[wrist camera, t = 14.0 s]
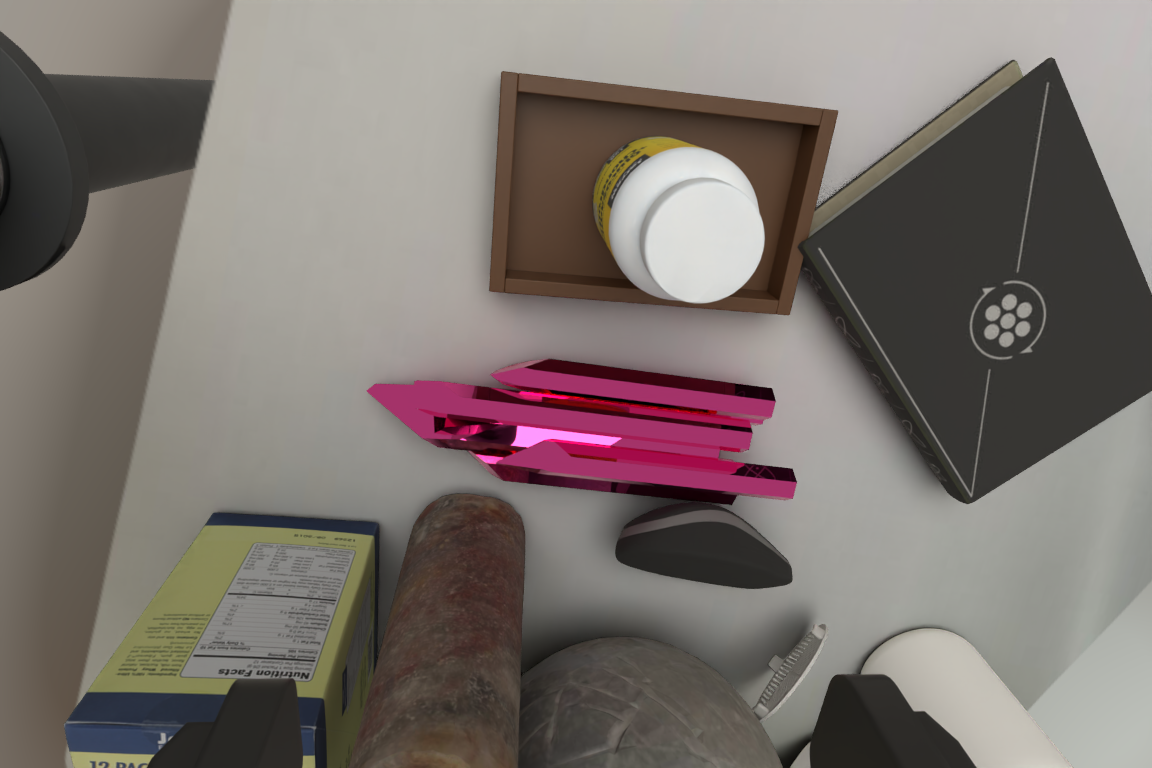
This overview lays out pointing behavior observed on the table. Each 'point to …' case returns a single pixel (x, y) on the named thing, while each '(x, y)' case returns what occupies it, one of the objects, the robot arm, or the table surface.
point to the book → (988, 282)
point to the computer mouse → (702, 547)
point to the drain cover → (790, 672)
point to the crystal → (600, 429)
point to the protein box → (244, 639)
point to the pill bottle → (678, 219)
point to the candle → (451, 644)
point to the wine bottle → (964, 699)
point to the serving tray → (598, 129)
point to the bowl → (635, 711)
